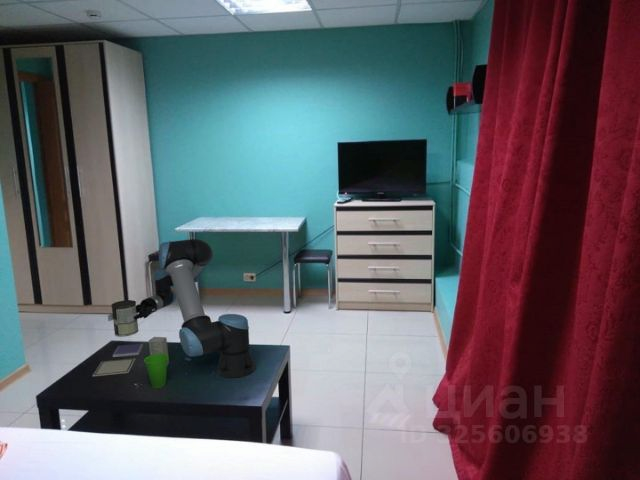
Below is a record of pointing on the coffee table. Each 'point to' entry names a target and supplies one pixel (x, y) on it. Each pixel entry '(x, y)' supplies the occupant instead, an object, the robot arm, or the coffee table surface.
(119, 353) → the ink pad
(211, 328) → the robot arm
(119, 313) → the coffee can
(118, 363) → the cream square tile
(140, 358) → the coffee table surface
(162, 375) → the cup
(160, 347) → the skincare box
